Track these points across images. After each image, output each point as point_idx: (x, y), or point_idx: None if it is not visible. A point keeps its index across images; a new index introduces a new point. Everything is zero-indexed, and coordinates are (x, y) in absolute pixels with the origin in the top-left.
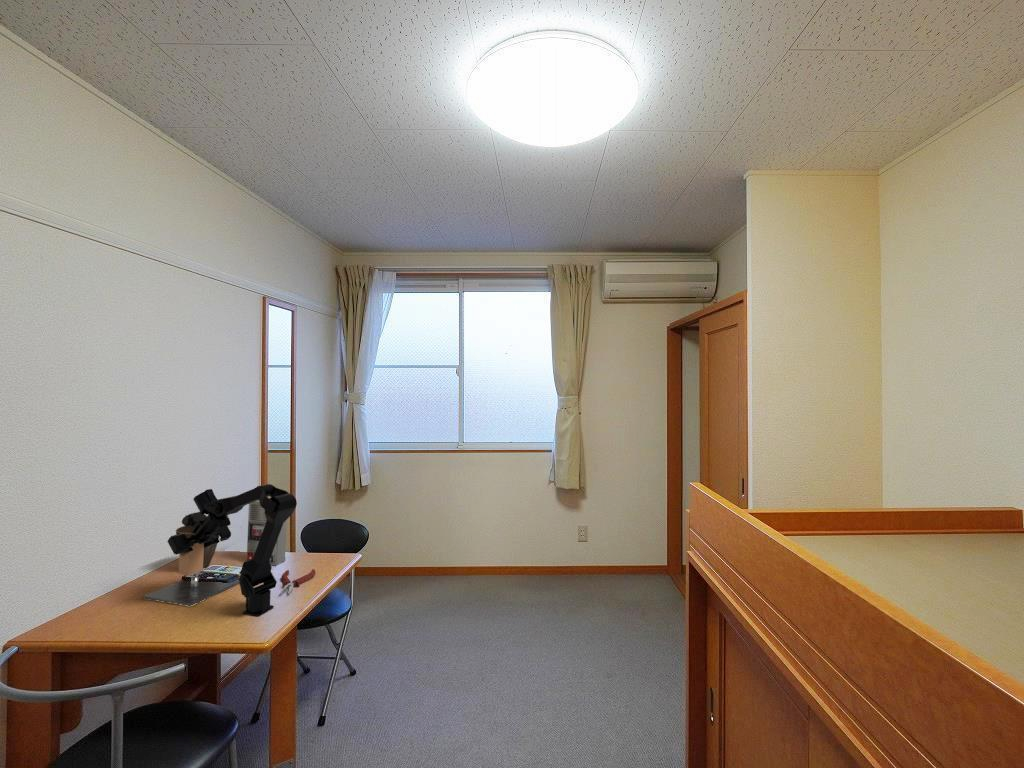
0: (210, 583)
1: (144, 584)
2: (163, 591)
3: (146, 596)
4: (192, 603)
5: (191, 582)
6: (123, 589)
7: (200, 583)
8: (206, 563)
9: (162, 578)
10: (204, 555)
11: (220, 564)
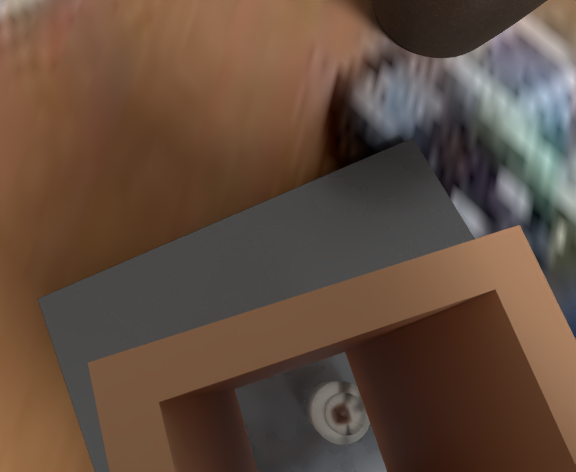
0: None
1: (141, 55)
2: (156, 313)
3: (49, 325)
4: None
5: (311, 419)
6: (37, 52)
7: None
8: (490, 38)
9: (241, 32)
10: (505, 5)
11: (559, 37)
